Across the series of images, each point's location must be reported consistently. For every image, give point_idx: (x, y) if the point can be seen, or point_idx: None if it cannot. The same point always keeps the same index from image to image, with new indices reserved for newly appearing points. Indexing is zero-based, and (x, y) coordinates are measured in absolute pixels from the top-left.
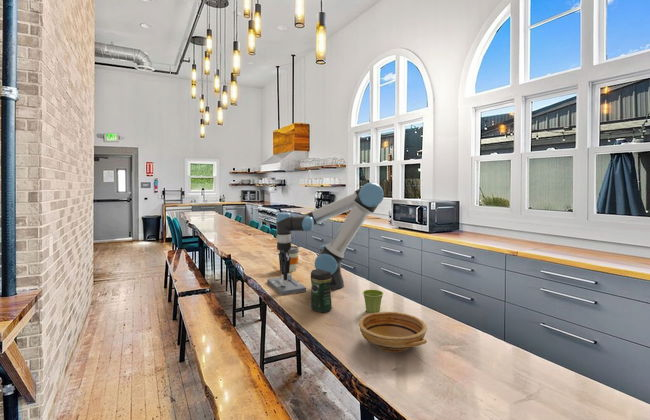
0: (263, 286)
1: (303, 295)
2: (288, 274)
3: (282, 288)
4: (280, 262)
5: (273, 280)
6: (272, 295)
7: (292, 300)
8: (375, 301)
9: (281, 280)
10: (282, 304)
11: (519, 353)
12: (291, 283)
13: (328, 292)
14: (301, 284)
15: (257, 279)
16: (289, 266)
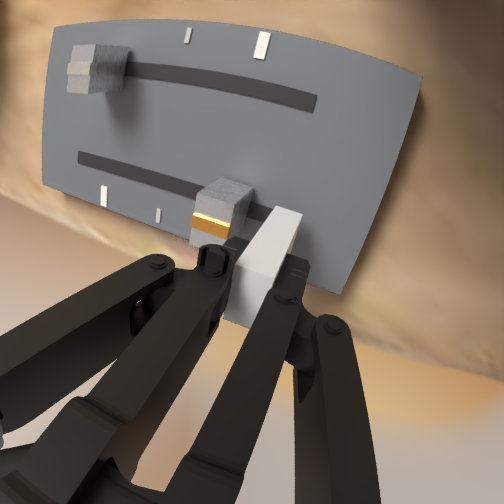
0: (108, 239)
1: (475, 176)
2: (85, 74)
3: None
4: (84, 378)
5: (75, 170)
6: None
7: (475, 298)
8: None
9: (215, 243)
10: (461, 365)
11: None
12: (207, 94)
13: None
14: (300, 39)
15: (14, 191)
16: (368, 427)
